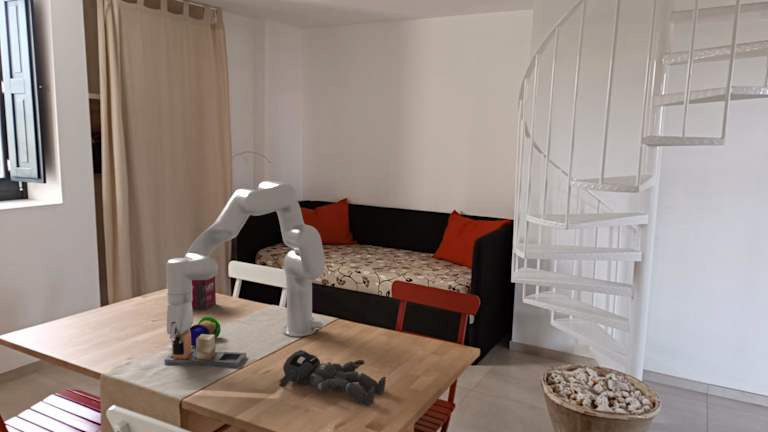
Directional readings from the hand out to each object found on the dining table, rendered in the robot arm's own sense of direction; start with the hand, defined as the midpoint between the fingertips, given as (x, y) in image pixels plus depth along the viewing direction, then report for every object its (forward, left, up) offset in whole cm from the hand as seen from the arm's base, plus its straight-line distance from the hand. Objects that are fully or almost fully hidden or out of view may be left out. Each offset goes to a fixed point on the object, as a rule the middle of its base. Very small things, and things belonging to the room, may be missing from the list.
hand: (182, 350), depth 179 cm
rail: (-8, 0, -4) cm, 9 cm away
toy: (-1, -17, -4) cm, 18 cm away
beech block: (-8, 0, -3) cm, 8 cm away
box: (+21, -58, -4) cm, 62 cm away
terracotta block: (0, 0, -2) cm, 2 cm away
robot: (-51, +13, -5) cm, 53 cm away
